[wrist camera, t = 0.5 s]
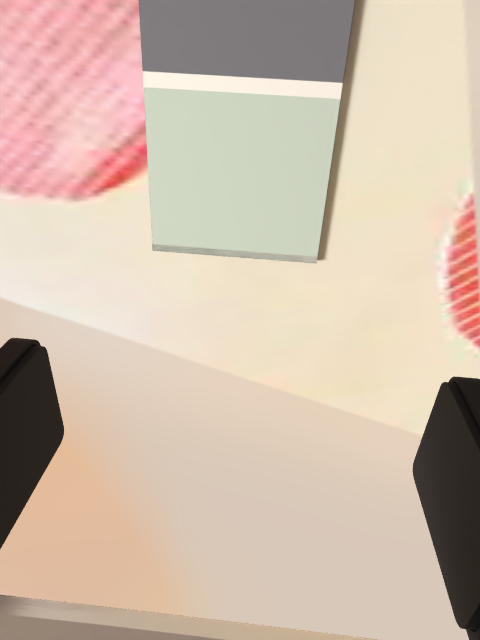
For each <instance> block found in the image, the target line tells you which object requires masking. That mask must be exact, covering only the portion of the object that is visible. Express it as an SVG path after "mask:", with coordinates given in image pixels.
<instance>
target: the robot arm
mask: <svg viewBox="0 0 480 640" xmlns="http://www.w3.org/2000/svg"><path fill="white" fill-rule="evenodd" d="M63 435H64V426H63V421H62V417H61V413H60V408H59V403H58V398H57V394H56V389H55V385H54V380H53V376H52V371H51V367H50V362H49V357H48V353H47V350H46V348H45V347H42V346H41V345H40V343H39V342H38V341H37V340H32V339H20V338H11V339H9V340H8V341H7V342H6V343H5V344H4V345H3V346H2V347H1V348H0V549H1V547H2V545H3V544H4V542H5V540H6V538H7V536H8V535H9V533H10V531H11V529H12V528H13V526H14V524H15V523H16V520H17V519H18V517H19V515H20V514H21V512H22V510H23V508H24V507H25V505H26V503H27V501H28V500H29V498H30V496H31V494H32V493H33V491H34V489H35V487H36V486H37V484H38V482H39V480H40V479H41V477H42V475H43V473H44V472H45V470H46V468H47V466H48V465H49V463H50V461H51V459H52V457H53V456H54V454H55V452H56V451H57V449H58V447H59V445H60V444H61V441H62V439H63ZM413 476H414V480H415V484H416V487H417V491H418V494H419V497H420V501H421V504H422V507H423V511H424V514H425V518H426V521H427V524H428V528H429V531H430V534H431V538H432V541H433V545H434V548H435V551H436V555H437V558H438V562H439V565H440V569H441V572H442V575H443V579H444V582H445V585H446V589H447V592H448V595H449V599H450V602H451V606H452V609H453V613H454V616H455V619H456V622H457V624H458V625H459V627H460V628H462V629H466V631H467V634H468V637H469V640H480V379H476V378H464V377H452V378H451V379H450V380H449V382H443V383H442V384H441V386H440V389H439V392H438V395H437V398H436V400H435V403H434V406H433V409H432V412H431V414H430V417H429V420H428V423H427V426H426V429H425V431H424V434H423V437H422V440H421V443H420V446H419V448H418V451H417V454H416V457H415V460H414V463H413ZM0 640H377V639H368V638H360V637H352V636H344V635H336V634H328V633H320V632H311V631H304V630H296V629H288V628H280V627H272V626H264V625H255V624H246V623H239V622H230V621H221V620H213V619H205V618H197V617H189V616H180V615H172V614H163V613H155V612H146V611H138V610H129V609H121V608H112V607H103V606H95V605H85V604H77V603H68V602H59V601H51V600H41V599H32V598H23V597H14V596H6V595H0Z"/></svg>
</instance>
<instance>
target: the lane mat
mask: <svg viewBox="0 0 480 640" xmlns="http://www.w3.org/2000/svg"><path fill="white" fill-rule="evenodd" d="M354 3H355V0H139V13H140V31H141V49H142V67H143V85H144V103H145V121H146V139H147V157H148V175H149V193H150V211H151V229H152V247H153V251H164V252H177V253H190V254H202V255H215V256H228V257H240V258H253V259H266V260H278V261H291V262H304V263H317V256H318V250H319V243H320V236H321V229H322V222H323V215H324V208H325V202H326V195H327V188H328V181H329V174H330V167H331V161H332V154H333V147H334V140H335V133H336V126H337V119H338V113H339V106H340V99H341V92H342V85H343V78H344V72H345V65H346V58H347V51H348V44H349V37H350V30H351V24H352V17H353V10H354Z"/></svg>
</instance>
